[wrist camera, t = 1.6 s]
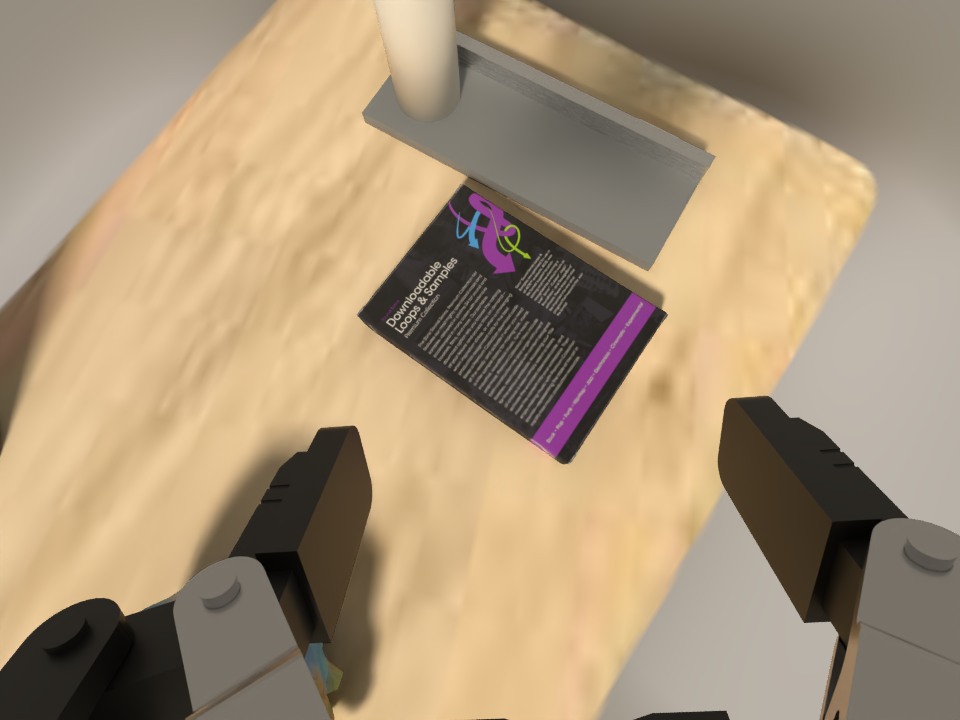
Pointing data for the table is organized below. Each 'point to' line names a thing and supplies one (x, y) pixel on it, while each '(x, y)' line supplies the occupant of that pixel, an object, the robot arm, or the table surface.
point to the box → (513, 322)
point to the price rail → (584, 108)
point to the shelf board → (547, 165)
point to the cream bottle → (421, 55)
